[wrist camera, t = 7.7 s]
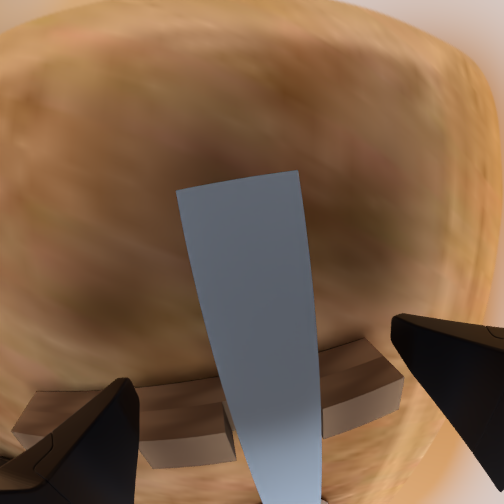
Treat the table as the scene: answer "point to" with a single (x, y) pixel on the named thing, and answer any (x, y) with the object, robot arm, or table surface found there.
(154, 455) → the notched rail
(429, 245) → the table surface
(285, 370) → the light blue slab
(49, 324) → the table surface
